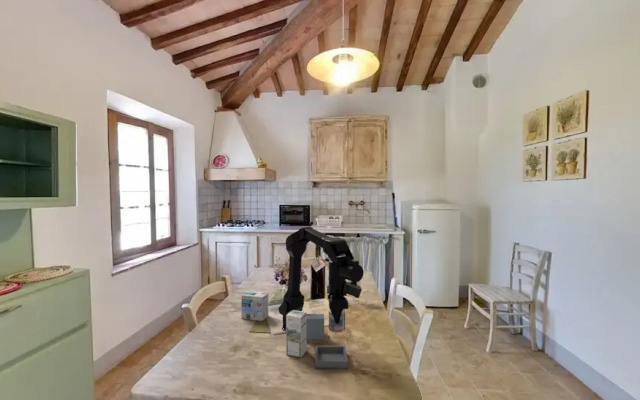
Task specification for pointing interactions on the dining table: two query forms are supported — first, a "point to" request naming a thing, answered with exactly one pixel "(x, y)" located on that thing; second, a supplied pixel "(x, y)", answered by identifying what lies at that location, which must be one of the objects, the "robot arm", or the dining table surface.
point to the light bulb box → (254, 305)
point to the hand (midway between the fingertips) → (336, 320)
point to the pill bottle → (337, 327)
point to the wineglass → (353, 296)
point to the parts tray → (330, 357)
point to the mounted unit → (315, 329)
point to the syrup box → (296, 333)
